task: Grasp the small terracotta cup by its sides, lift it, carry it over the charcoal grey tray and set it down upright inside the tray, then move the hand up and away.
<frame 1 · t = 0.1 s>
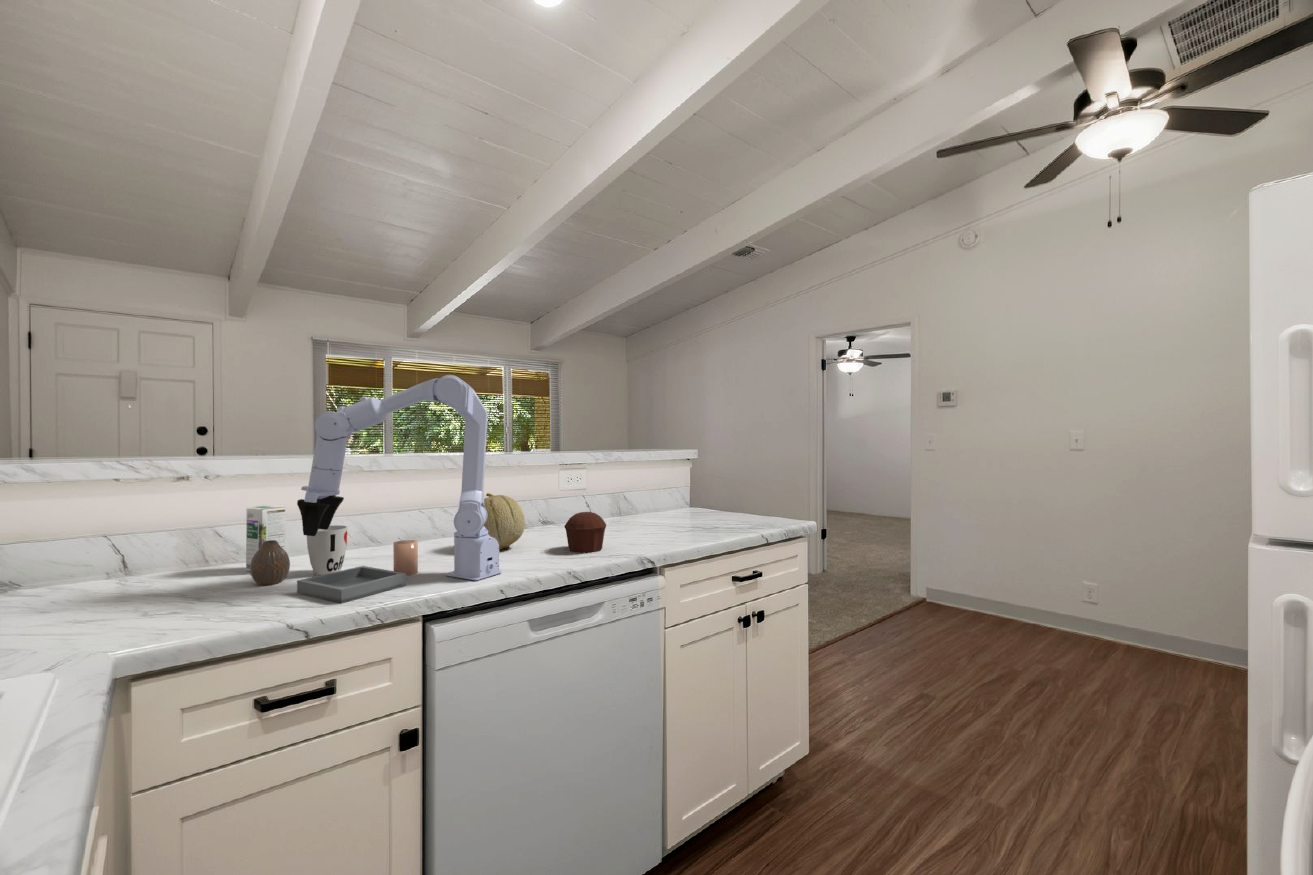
hand: (316, 532, 120), 11 cm above the countertop, tool pointing down, fingers open, 7 cm apart
terracotta cup: (405, 573, 128), on the countertop
muffin: (585, 550, 154), on the countertop
syrup box: (266, 570, 131), on the countertop
cantaloupe: (497, 549, 155), on the countertop
grey tray: (353, 589, 115), on the countertop
vase: (270, 583, 120), on the countertop
cup: (327, 573, 129), on the countertop
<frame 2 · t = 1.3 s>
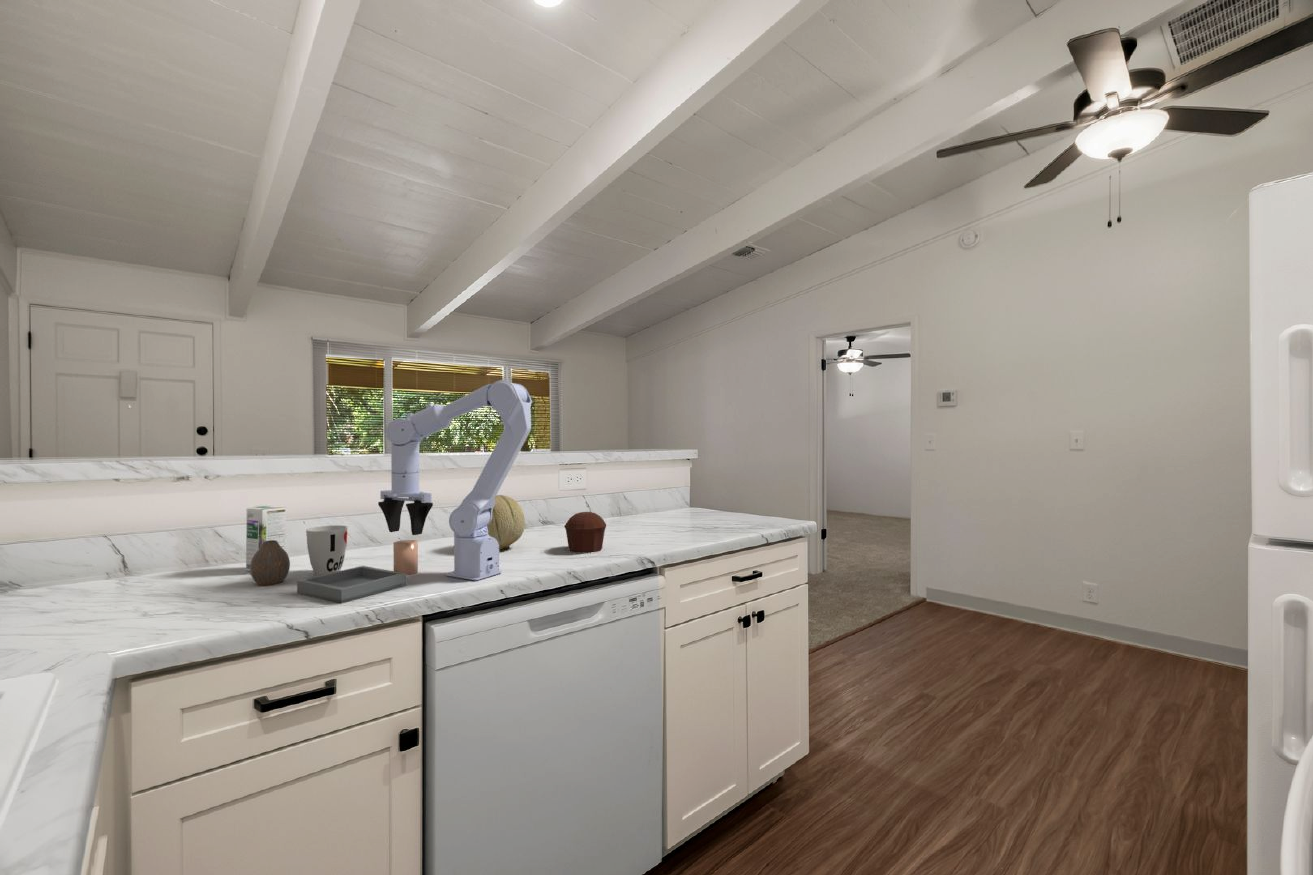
hand: (405, 532, 128), 9 cm above the countertop, tool pointing down, fingers open, 7 cm apart
nothing on the countertop moved.
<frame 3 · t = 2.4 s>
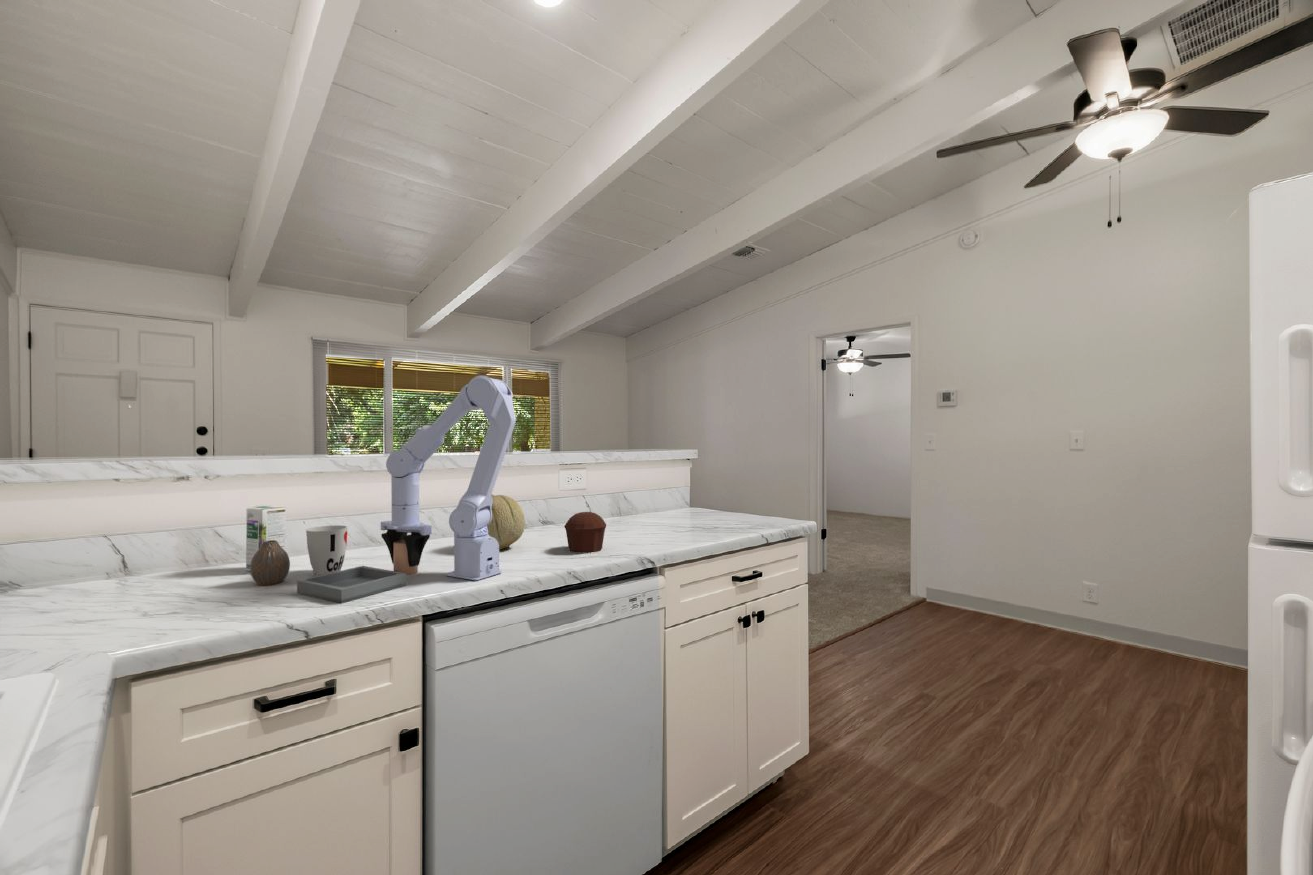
hand: (405, 564, 128), 2 cm above the countertop, tool pointing down, fingers closed on terracotta cup, 5 cm apart
terracotta cup: (405, 572, 128), on the countertop, touching gripper
everything else where it was.
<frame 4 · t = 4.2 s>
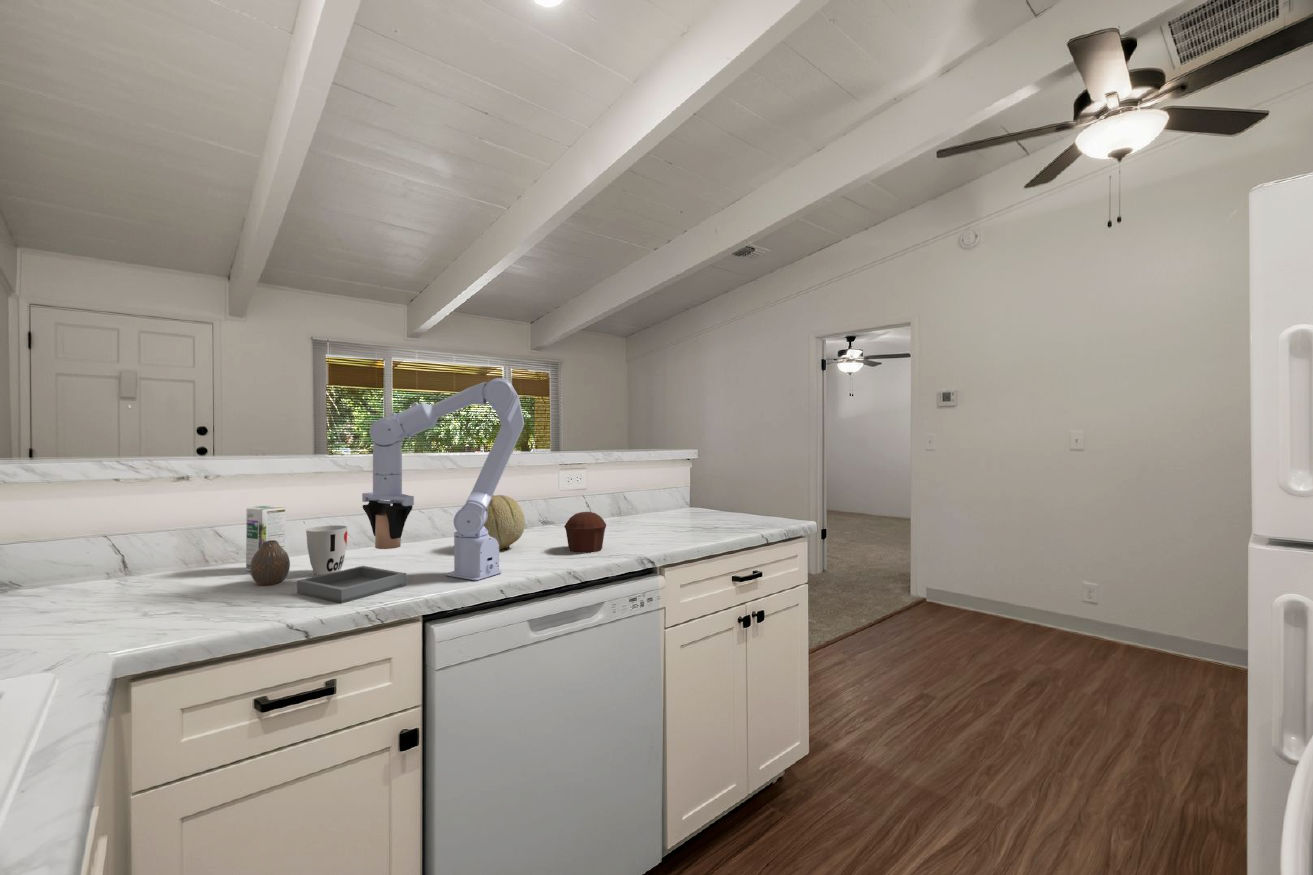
hand: (387, 537, 123), 9 cm above the countertop, tool pointing down, fingers closed on terracotta cup, 5 cm apart
terracotta cup: (387, 546, 124), point 7 cm above the countertop, touching gripper
everything else where it was.
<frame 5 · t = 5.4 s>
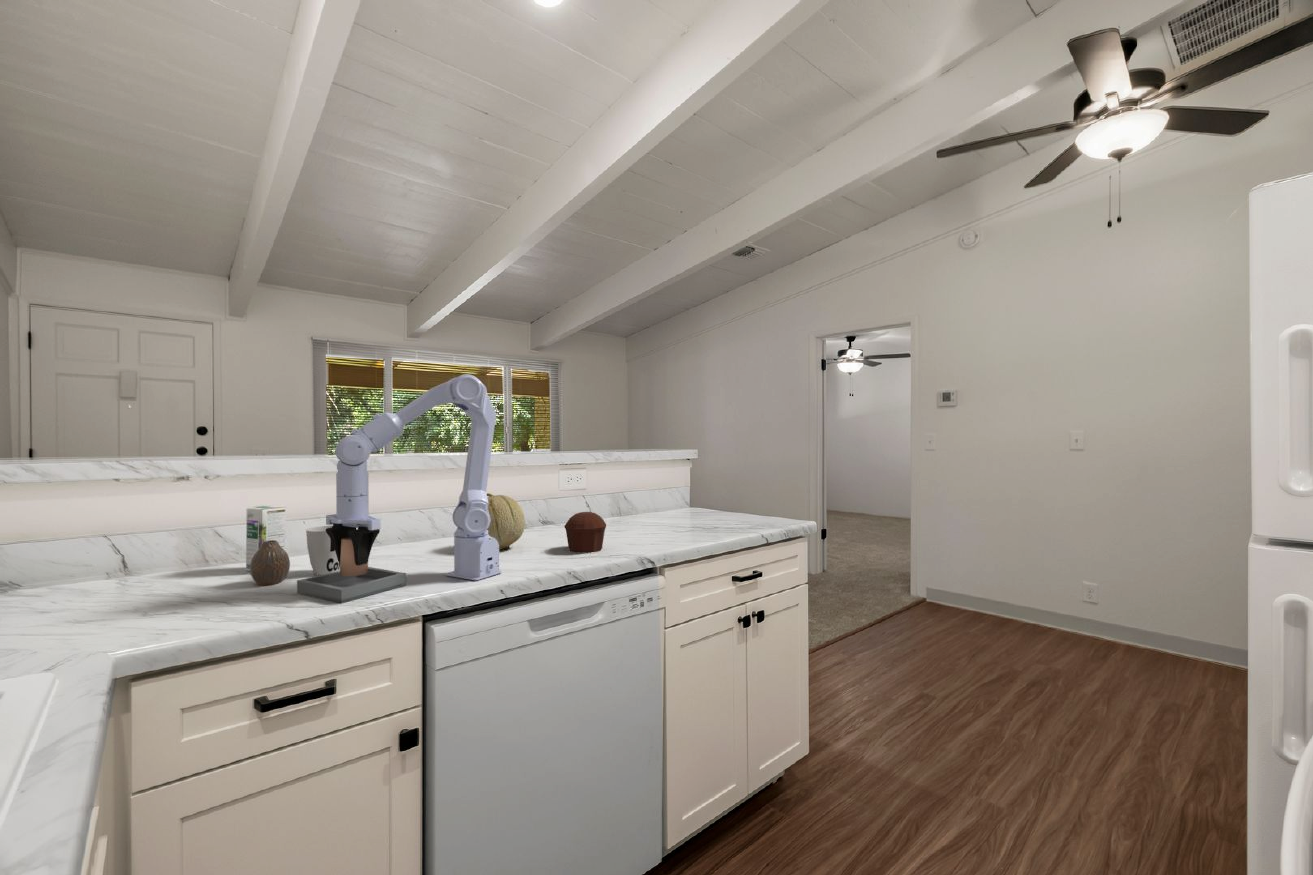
hand: (352, 562, 115), 5 cm above the countertop, tool pointing down, fingers closed on terracotta cup, 5 cm apart
terracotta cup: (353, 573, 115), point 3 cm above the countertop, touching gripper
everything else where it was.
when the fingers open (4 cm above the countertop, at t = 6.2 s): terracotta cup stays where it is, resting on grey tray.
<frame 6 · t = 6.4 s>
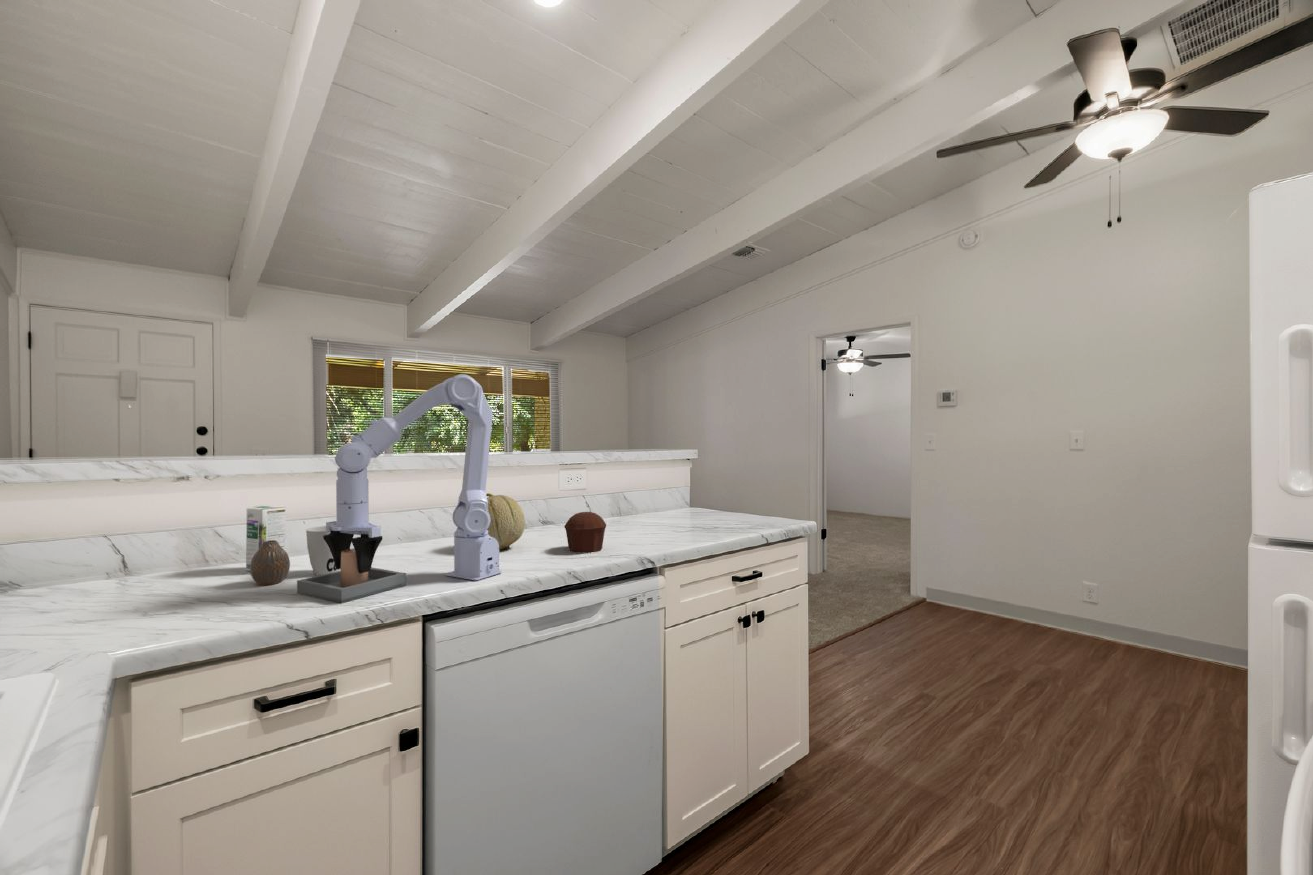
hand: (352, 569, 115), 4 cm above the countertop, tool pointing down, fingers open, 7 cm apart
terracotta cup: (354, 585, 115), point 1 cm above the countertop, touching grey tray
everything else where it was.
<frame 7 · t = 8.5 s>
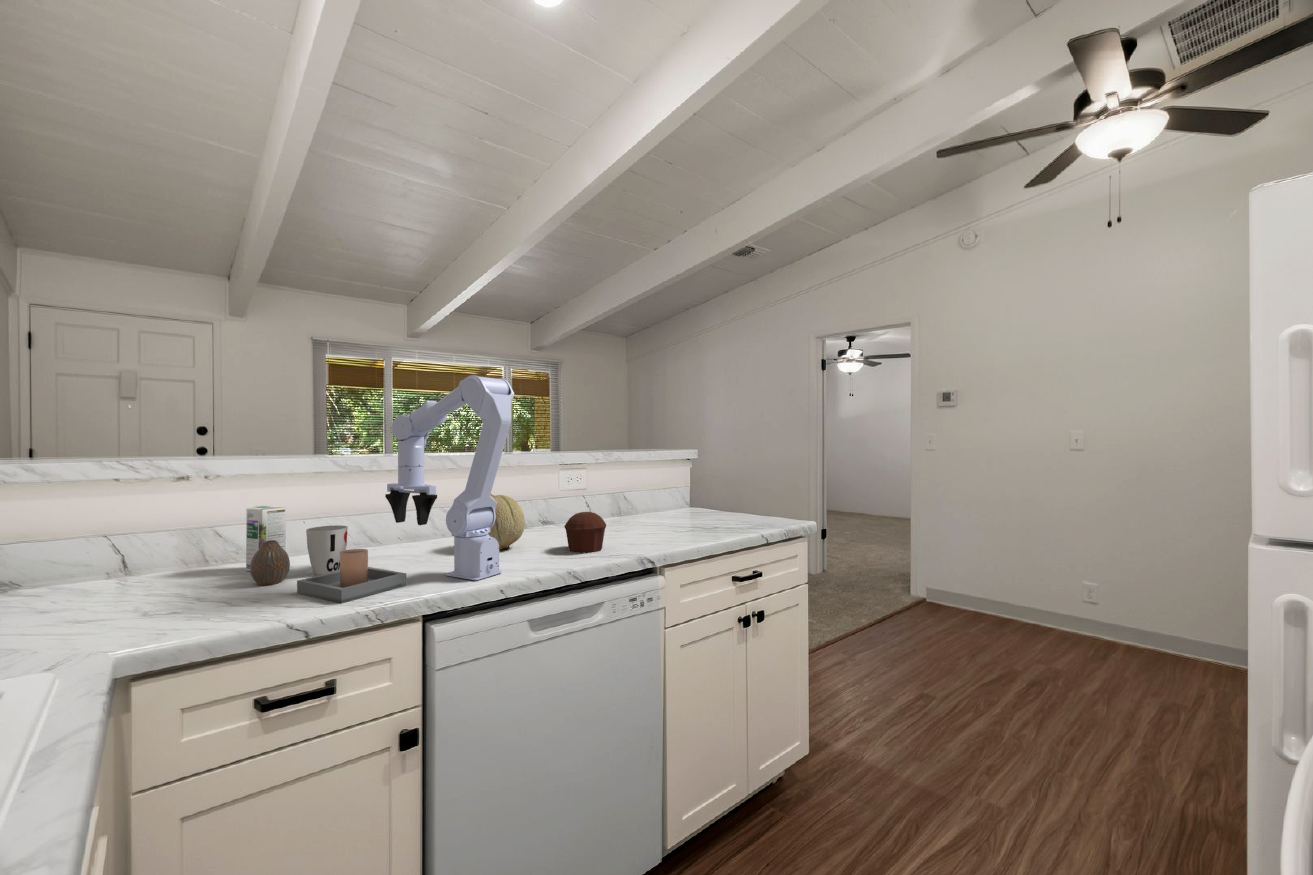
hand: (411, 523, 136), 10 cm above the countertop, tool pointing down, fingers open, 7 cm apart
nothing on the countertop moved.
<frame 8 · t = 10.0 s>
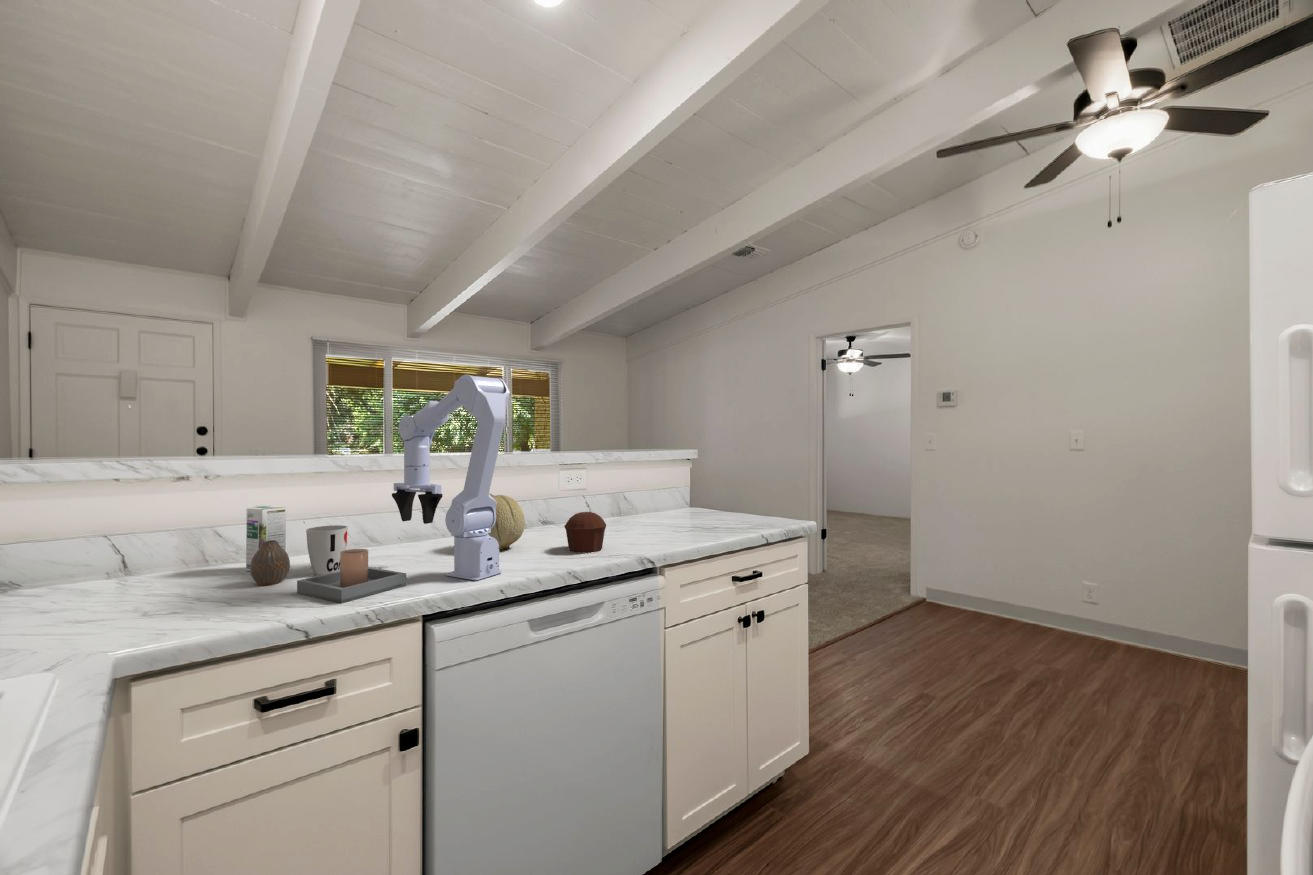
hand: (417, 521, 138), 10 cm above the countertop, tool pointing down, fingers open, 7 cm apart
nothing on the countertop moved.
at the end: terracotta cup inside the target area on the grey tray (0.2 cm from its centre), point 0.6 cm above the grey tray's base; terracotta cup tilted 1°; the gripper is holding nothing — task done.
